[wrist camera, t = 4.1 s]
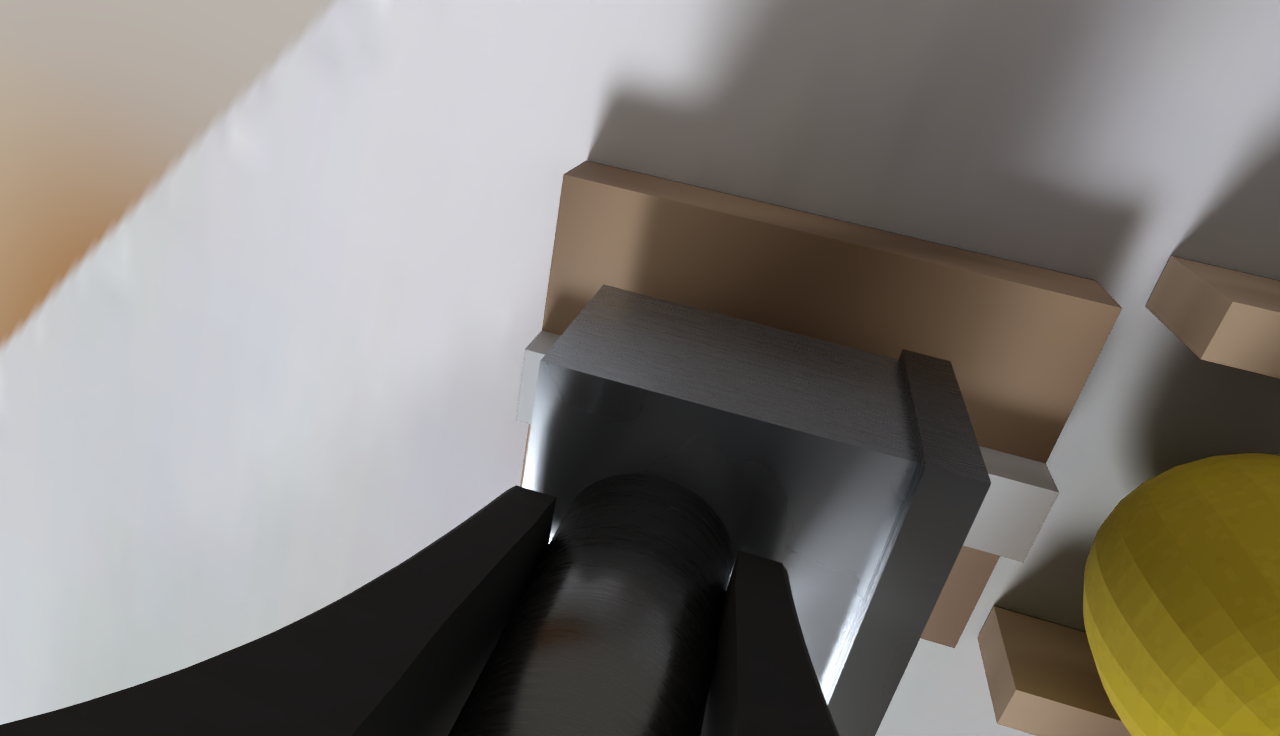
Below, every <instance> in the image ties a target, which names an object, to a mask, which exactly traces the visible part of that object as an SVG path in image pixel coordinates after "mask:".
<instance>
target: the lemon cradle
mask: <svg viewBox="0 0 1280 736" xmlns="http://www.w3.org/2000/svg"><path fill="white" fill-rule="evenodd" d="M1145 307H1146V308H1147V309H1149V310H1150V311H1151V312H1152V313H1153V314H1154V315H1155V316H1156V317H1157V318H1158V319H1159V320H1160V321H1161V322H1162V323H1163V324H1164V325H1165V326H1166V327H1167V328H1168V329H1169V330H1170V331H1172V332H1173V333H1174V334H1175V335H1176V336H1177V337H1178V338H1179V339H1180V340H1181V341H1182V342H1183V343H1184V344H1185V345H1186V346H1187V347H1188V348H1189V349H1190V350H1191V351H1192V352H1193V353H1195V354H1196V355H1197V356H1198V357H1199V358H1200V359H1201V360H1206V361H1210V362H1214V363H1218V364H1222V365H1226V366H1230V367H1234V368H1238V369H1243V370H1247V371H1251V372H1255V373H1259V374H1263V375H1267V376H1271V377H1275V378H1279V379H1280V281H1277V280H1273V279H1269V278H1264V277H1260V276H1256V275H1251V274H1247V273H1243V272H1238V271H1234V270H1230V269H1225V268H1221V267H1216V266H1212V265H1208V264H1203V263H1199V262H1195V261H1190V260H1186V259H1182V258H1177V257H1173V256H1171V257H1170V259H1169V261H1168V263H1167V265H1166V267H1165V269H1164V270H1163V272H1162V274H1161V276H1160V278H1159V280H1158V282H1157V284H1156V286H1155V288H1154V290H1153V292H1152V294H1151V296H1150V298H1149V300H1148V302H1147V304H1146V306H1145ZM978 642H979V647H980V651H981V655H982V660H983V664H984V668H985V673H986V677H987V681H988V686H989V690H990V694H991V699H992V703H993V707H994V712H995V716H996V721H997V724H1000V725H1003V726H1007V727H1010V728H1013V729H1016V730H1020V731H1023V732H1026V733H1030V734H1033V735H1036V736H1132V735H1131V734H1130V733H1129V731H1128V730H1127V728H1126V727H1125V725H1124V724H1123V722H1122V721H1121V719H1120V717H1119V716H1118V714H1117V712H1116V711H1115V709H1114V707H1113V706H1112V704H1111V702H1110V700H1109V697H1108V695H1107V693H1106V691H1105V689H1104V687H1103V684H1102V681H1101V679H1100V676H1099V673H1098V670H1097V667H1096V664H1095V661H1094V657H1093V654H1092V651H1091V648H1090V645H1089V642H1088V638H1087V633H1086V632H1082V631H1079V630H1075V629H1072V628H1068V627H1065V626H1061V625H1058V624H1054V623H1051V622H1047V621H1044V620H1040V619H1037V618H1033V617H1030V616H1026V615H1023V614H1019V613H1016V612H1013V611H1009V610H1006V609H1002V608H999V607H995V606H993V608H992V610H991V612H990V614H989V616H988V618H987V620H986V622H985V624H984V626H983V628H982V630H981V632H980V634H979V636H978Z"/></svg>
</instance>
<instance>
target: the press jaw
mask: <svg viewBox="0 0 1280 736" xmlns="http://www.w3.org/2000/svg"><path fill="white" fill-rule="evenodd" d="M990 485H991V481H990V478H989V475H988V472H987V469H986V466H985V463H984V460H983V457H982V454H981V451H980V448H979V445H978V442H977V439H976V436H975V433H974V430H973V427H972V424H971V421H970V418H969V415H968V412H967V409H966V406H965V403H964V400H963V397H962V394H961V391H960V388H959V385H958V382H957V379H956V376H955V373H954V370H953V367H952V364H951V361H948V360H944V359H940V358H936V357H932V356H928V355H924V354H920V353H916V352H913V351H909V350H905V349H902V352H901V354H900V357H899V360H898V359H895V358H891V357H887V356H883V355H879V354H875V353H871V352H867V351H863V350H859V349H855V348H851V347H847V346H843V345H840V344H836V343H832V342H828V341H824V340H820V339H816V338H812V337H808V336H804V335H800V334H796V333H792V332H789V331H785V330H781V329H777V328H773V327H769V326H765V325H761V324H757V323H753V322H749V321H745V320H741V319H737V318H734V317H730V316H726V315H722V314H718V313H714V312H710V311H706V310H702V309H698V308H694V307H690V306H686V305H682V304H679V303H675V302H671V301H667V300H663V299H659V298H655V297H651V296H647V295H643V294H639V293H635V292H631V291H628V290H624V289H620V288H616V287H612V286H608V285H604V284H603V286H602V287H601V288H600V289H599V290H598V292H597V293H596V294H595V295H594V296H593V298H592V299H591V300H590V301H589V303H588V304H587V305H586V306H585V307H584V309H583V310H582V311H581V312H580V313H579V315H578V316H577V317H576V318H575V319H574V321H573V322H572V323H571V324H570V325H569V327H568V328H567V329H566V330H565V332H564V333H563V334H562V335H561V336H560V338H559V339H558V340H557V341H556V342H555V344H554V345H553V346H552V347H551V348H550V350H549V351H548V352H547V353H546V354H545V356H544V357H543V358H542V359H541V360H540V365H539V372H538V379H537V386H536V394H535V401H534V408H533V415H532V422H531V429H530V436H529V444H528V451H527V458H526V465H525V472H524V479H523V486H522V487H523V488H526V489H530V490H533V491H537V492H540V493H544V494H547V495H551V496H554V497H556V503H555V509H554V515H553V521H552V527H551V533H550V539H549V545H548V547H547V549H546V551H545V553H544V555H543V556H542V558H541V560H540V562H539V564H538V566H537V568H536V570H535V572H534V573H533V575H532V577H531V579H530V581H529V583H528V585H527V587H526V589H525V591H524V592H523V594H522V596H521V598H520V600H519V602H518V604H517V606H516V608H515V609H514V611H513V613H512V615H511V617H510V619H509V621H508V623H507V625H506V626H505V628H504V630H503V632H502V634H501V636H500V638H499V640H498V642H497V643H496V645H495V647H494V649H493V651H492V653H491V655H490V657H489V659H488V660H487V662H486V664H485V666H484V668H483V670H482V672H481V674H480V676H479V678H478V679H477V681H476V683H475V685H474V687H473V689H472V691H471V693H470V695H469V696H468V698H467V700H466V702H465V704H464V706H463V708H462V710H461V712H460V713H459V715H458V717H457V719H456V721H455V723H454V725H453V727H452V729H451V730H450V732H449V734H448V736H701V731H702V726H703V720H704V715H705V709H706V704H707V698H708V693H709V687H710V682H711V676H712V671H713V665H714V659H715V651H716V644H717V638H718V633H719V627H720V622H721V616H722V611H723V605H724V600H725V594H726V590H727V587H728V583H729V580H730V577H731V574H732V570H733V567H734V564H735V560H736V557H737V554H738V551H739V550H740V551H743V552H747V553H750V554H753V555H757V556H760V557H764V558H767V559H771V560H774V561H778V562H781V563H783V565H784V567H785V568H786V570H787V572H788V577H789V582H790V587H791V592H792V596H793V600H794V604H795V608H796V612H797V615H798V619H799V622H800V626H801V629H802V633H803V636H804V640H805V643H806V646H807V649H808V652H809V655H810V658H811V661H812V664H813V667H814V670H815V672H816V675H817V678H818V681H819V684H820V686H821V689H822V692H823V695H824V698H825V700H826V703H827V705H828V708H829V710H830V713H831V716H832V718H833V721H834V723H835V726H836V728H837V730H838V733H839V735H840V736H875V734H876V732H877V730H878V728H879V726H880V723H881V721H882V719H883V717H884V715H885V713H886V710H887V708H888V706H889V704H890V702H891V700H892V697H893V695H894V693H895V691H896V689H897V687H898V685H899V682H900V680H901V678H902V676H903V674H904V672H905V669H906V667H907V665H908V663H909V661H910V659H911V656H912V654H913V652H914V650H915V648H916V646H917V643H918V641H919V639H920V637H921V635H922V633H923V630H924V628H925V626H926V624H927V622H928V620H929V617H930V615H931V613H932V611H933V609H934V607H935V604H936V602H937V600H938V598H939V596H940V594H941V591H942V589H943V587H944V585H945V583H946V581H947V578H948V576H949V574H950V572H951V570H952V568H953V565H954V563H955V561H956V559H957V557H958V555H959V552H960V550H961V548H962V546H963V544H964V542H965V539H966V537H967V535H968V533H969V531H970V529H971V527H972V524H973V522H974V520H975V518H976V516H977V514H978V511H979V509H980V507H981V505H982V503H983V501H984V498H985V496H986V494H987V492H988V490H989V488H990Z"/></svg>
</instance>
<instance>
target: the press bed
mask: <svg viewBox="0 0 1280 736" xmlns="http://www.w3.org/2000/svg"><path fill="white" fill-rule="evenodd" d="M603 284H604V285H608V286H612V287H616V288H620V289H624V290H628V291H631V292H635V293H639V294H643V295H647V296H651V297H655V298H659V299H663V300H667V301H671V302H675V303H679V304H682V305H686V306H690V307H694V308H698V309H702V310H706V311H710V312H714V313H718V314H722V315H726V316H730V317H734V318H737V319H741V320H745V321H749V322H753V323H757V324H761V325H765V326H769V327H773V328H777V329H781V330H785V331H789V332H792V333H796V334H800V335H804V336H808V337H812V338H816V339H820V340H824V341H828V342H832V343H836V344H840V345H843V346H847V347H851V348H855V349H859V350H863V351H867V352H871V353H875V354H879V355H883V356H887V357H891V358H895V359H898V360H899V357H900V354H901V352H902V349H905V350H909V351H913V352H916V353H920V354H924V355H928V356H932V357H936V358H940V359H944V360H948V361H951V364H952V367H953V370H954V373H955V376H956V379H957V382H958V385H959V388H960V391H961V394H962V397H963V400H964V403H965V406H966V409H967V412H968V415H969V418H970V421H971V424H972V427H973V430H974V433H975V436H976V439H977V442H978V445H979V448H980V451H981V454H982V457H983V460H984V463H985V466H986V469H987V472H988V475H989V478H990V481H991V485H990V488H989V490H988V492H987V494H986V496H985V498H984V501H983V503H982V505H981V507H980V509H979V511H978V514H977V516H976V518H975V520H974V522H973V524H972V527H971V529H970V531H969V533H968V535H967V537H966V539H965V542H964V544H963V546H962V548H961V550H960V552H959V555H958V557H957V559H956V561H955V563H954V565H953V568H952V570H951V572H950V574H949V576H948V578H947V581H946V583H945V585H944V587H943V589H942V591H941V594H940V596H939V598H938V600H937V602H936V604H935V607H934V609H933V611H932V613H931V615H930V617H929V620H928V622H927V624H926V626H925V628H924V630H923V633H922V635H921V637H920V638H922V639H925V640H929V641H932V642H936V643H939V644H942V645H946V646H949V647H953V648H955V646H956V644H957V642H958V640H959V638H960V636H961V634H962V632H963V630H964V628H965V626H966V624H967V622H968V620H969V618H970V616H971V614H972V612H973V610H974V608H975V606H976V604H977V602H978V600H979V598H980V596H981V594H982V592H983V590H984V588H985V586H986V584H987V581H988V579H989V577H990V575H991V573H992V571H993V569H994V567H995V565H996V563H997V561H998V559H999V557H1000V556H1003V557H1006V558H1010V559H1013V560H1017V561H1021V562H1024V560H1025V558H1026V556H1027V554H1028V552H1029V550H1030V548H1031V546H1032V545H1033V543H1034V541H1035V539H1036V537H1037V535H1038V533H1039V531H1040V529H1041V527H1042V525H1043V523H1044V521H1045V519H1046V517H1047V515H1048V513H1049V511H1050V509H1051V507H1052V505H1053V503H1054V502H1055V500H1056V498H1057V496H1058V494H1059V491H1058V489H1057V487H1056V485H1055V483H1054V480H1053V478H1052V476H1051V474H1050V472H1049V470H1048V468H1047V466H1046V462H1047V460H1048V458H1049V456H1050V454H1051V452H1052V450H1053V447H1054V445H1055V443H1056V441H1057V439H1058V437H1059V435H1060V433H1061V431H1062V429H1063V427H1064V425H1065V423H1066V421H1067V419H1068V417H1069V415H1070V413H1071V411H1072V409H1073V407H1074V405H1075V403H1076V401H1077V399H1078V397H1079V395H1080V393H1081V391H1082V389H1083V387H1084V385H1085V382H1086V380H1087V378H1088V376H1089V374H1090V372H1091V370H1092V368H1093V366H1094V364H1095V362H1096V360H1097V358H1098V356H1099V354H1100V352H1101V350H1102V348H1103V346H1104V344H1105V342H1106V340H1107V338H1108V336H1109V334H1110V332H1111V330H1112V328H1113V326H1114V324H1115V322H1116V320H1117V318H1118V315H1119V313H1120V311H1121V309H1122V307H1121V306H1120V305H1119V304H1118V303H1117V302H1116V301H1115V300H1114V299H1113V298H1112V297H1111V296H1110V295H1109V294H1108V293H1107V292H1106V291H1105V290H1104V289H1103V288H1102V287H1101V286H1100V285H1099V284H1098V283H1097V281H1094V280H1090V279H1085V278H1081V277H1077V276H1073V275H1068V274H1064V273H1060V272H1056V271H1052V270H1047V269H1043V268H1039V267H1035V266H1030V265H1026V264H1022V263H1018V262H1013V261H1009V260H1005V259H1001V258H996V257H992V256H988V255H984V254H980V253H975V252H971V251H967V250H963V249H958V248H954V247H950V246H946V245H941V244H937V243H933V242H929V241H924V240H920V239H916V238H912V237H908V236H903V235H899V234H895V233H891V232H886V231H882V230H878V229H874V228H869V227H865V226H861V225H857V224H852V223H848V222H844V221H840V220H836V219H831V218H827V217H823V216H819V215H814V214H810V213H806V212H802V211H797V210H793V209H789V208H785V207H780V206H776V205H772V204H768V203H764V202H759V201H755V200H751V199H747V198H742V197H738V196H734V195H730V194H725V193H721V192H717V191H713V190H708V189H704V188H700V187H696V186H692V185H687V184H683V183H679V182H675V181H670V180H666V179H662V178H658V177H653V176H649V175H645V174H641V173H636V172H632V171H628V170H624V169H620V168H615V167H611V166H607V165H603V164H598V163H594V162H590V161H585V162H583V163H581V164H580V165H578V166H577V167H575V168H573V169H572V170H570V171H569V172H567V173H565V174H564V176H563V183H562V190H561V197H560V204H559V212H558V219H557V226H556V233H555V240H554V248H553V255H552V262H551V269H550V276H549V284H548V291H547V298H546V305H545V313H544V320H543V327H542V331H541V332H540V333H539V334H538V335H537V337H536V338H535V339H534V340H533V341H532V342H531V343H530V344H529V345H528V347H527V348H526V349H525V353H524V361H523V368H522V376H521V384H520V391H519V399H518V407H517V415H516V421H520V422H523V423H527V424H529V428H528V435H527V442H526V449H525V457H524V464H523V471H522V478H521V485H520V487H522V486H523V479H524V472H525V465H526V458H527V451H528V444H529V436H530V429H531V422H532V415H533V408H534V401H535V394H536V386H537V379H538V372H539V365H540V360H541V359H542V358H543V357H544V356H545V354H546V353H547V352H548V351H549V350H550V348H551V347H552V346H553V345H554V344H555V342H556V341H557V340H558V339H559V338H560V336H561V335H562V334H563V333H564V332H565V330H566V329H567V328H568V327H569V325H570V324H571V323H572V322H573V321H574V319H575V318H576V317H577V316H578V315H579V313H580V312H581V311H582V310H583V309H584V307H585V306H586V305H587V304H588V303H589V301H590V300H591V299H592V298H593V296H594V295H595V294H596V293H597V292H598V290H599V289H600V288H601V287H602V286H603Z"/></svg>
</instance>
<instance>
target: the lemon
mask: <svg viewBox="0 0 1280 736" xmlns="http://www.w3.org/2000/svg"><path fill="white" fill-rule="evenodd" d="M1083 616H1084V624H1085V629H1086V633H1087V638H1088V642H1089V645H1090V648H1091V651H1092V654H1093V657H1094V661H1095V664H1096V667H1097V670H1098V673H1099V676H1100V679H1101V681H1102V684H1103V687H1104V689H1105V691H1106V693H1107V695H1108V697H1109V700H1110V702H1111V704H1112V706H1113V707H1114V709H1115V711H1116V712H1117V714H1118V716H1119V717H1120V719H1121V721H1122V722H1123V724H1124V725H1125V727H1126V728H1127V730H1128V731H1129V733H1130V734H1131V735H1132V736H1280V455H1273V454H1264V453H1242V454H1231V455H1219V456H1211V457H1207V458H1204V459H1200V460H1196V461H1193V462H1189V463H1185V464H1182V465H1178V466H1175V467H1173V468H1171V469H1169V470H1167V471H1165V472H1163V473H1161V474H1159V475H1157V476H1155V477H1153V478H1151V479H1149V480H1147V481H1145V482H1144V483H1142V484H1141V485H1140V486H1139V487H1137V488H1136V489H1135V490H1134V491H1132V492H1131V493H1130V494H1129V495H1127V496H1126V497H1125V498H1124V499H1122V500H1121V501H1120V502H1119V503H1118V505H1117V506H1116V507H1115V509H1114V510H1113V511H1112V512H1111V514H1110V515H1109V516H1108V518H1107V519H1106V520H1105V521H1104V523H1103V524H1102V526H1101V527H1100V529H1099V531H1098V532H1097V535H1096V537H1095V540H1094V542H1093V545H1092V548H1091V550H1090V553H1089V555H1088V558H1087V561H1086V565H1085V569H1084V594H1083Z"/></svg>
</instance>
